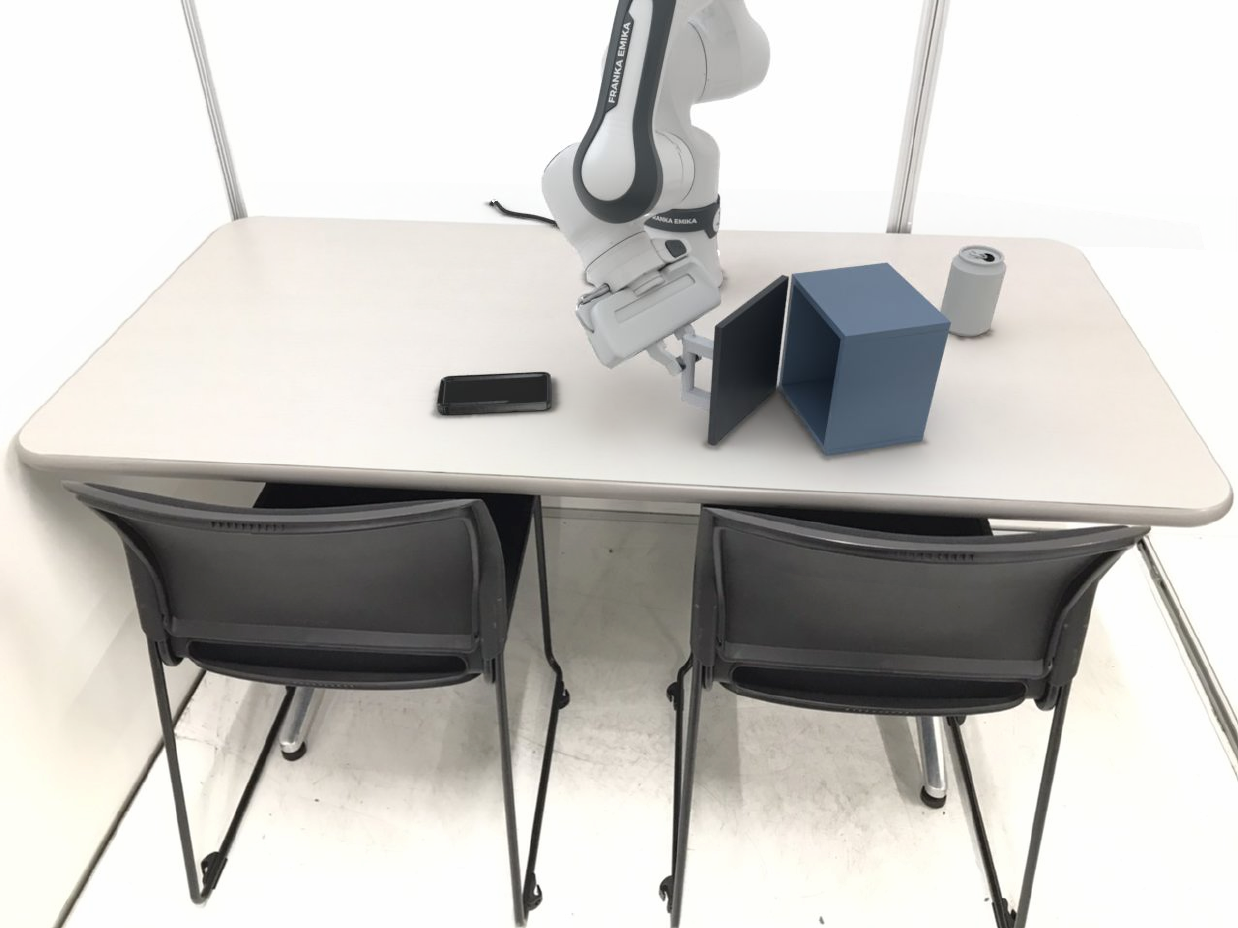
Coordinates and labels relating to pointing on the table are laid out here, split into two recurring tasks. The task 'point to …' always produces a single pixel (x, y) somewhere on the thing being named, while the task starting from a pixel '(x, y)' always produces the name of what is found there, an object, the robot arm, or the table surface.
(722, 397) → the cabinet door
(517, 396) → the phone
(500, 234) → the table surface
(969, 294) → the can
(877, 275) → the blue cabinet body
